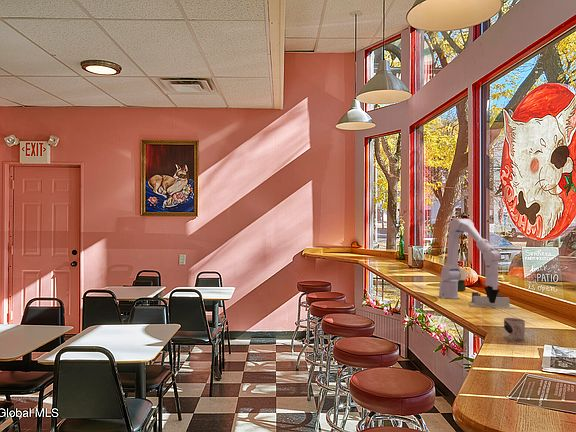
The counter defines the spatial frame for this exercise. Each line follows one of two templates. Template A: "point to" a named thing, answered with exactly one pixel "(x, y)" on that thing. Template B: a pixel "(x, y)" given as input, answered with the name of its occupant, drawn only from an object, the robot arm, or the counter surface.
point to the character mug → (463, 277)
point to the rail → (498, 302)
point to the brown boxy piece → (475, 295)
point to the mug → (514, 329)
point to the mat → (491, 306)
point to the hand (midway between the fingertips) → (491, 302)
